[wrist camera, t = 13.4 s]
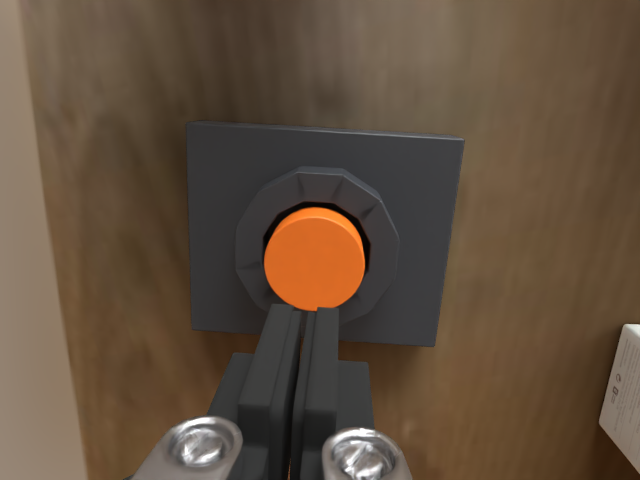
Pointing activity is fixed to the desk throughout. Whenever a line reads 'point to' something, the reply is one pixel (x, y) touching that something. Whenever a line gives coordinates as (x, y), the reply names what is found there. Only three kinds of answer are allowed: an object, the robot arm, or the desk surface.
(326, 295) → the button
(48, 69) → the desk surface
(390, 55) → the desk surface
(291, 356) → the robot arm
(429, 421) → the desk surface
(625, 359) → the small box
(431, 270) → the button block
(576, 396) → the desk surface
